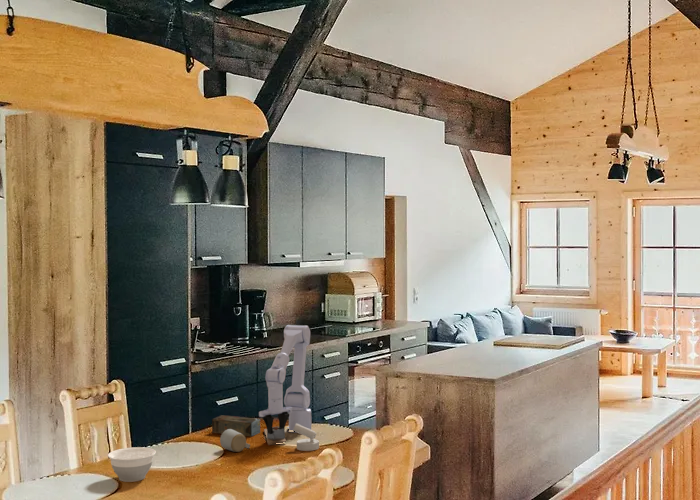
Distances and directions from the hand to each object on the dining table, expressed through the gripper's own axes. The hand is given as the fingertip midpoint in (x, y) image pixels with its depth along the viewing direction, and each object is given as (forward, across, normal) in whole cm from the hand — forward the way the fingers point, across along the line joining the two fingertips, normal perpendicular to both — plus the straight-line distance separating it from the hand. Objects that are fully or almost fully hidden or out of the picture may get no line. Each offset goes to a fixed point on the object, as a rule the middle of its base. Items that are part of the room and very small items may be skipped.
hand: (275, 432), depth 334 cm
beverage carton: (+4, +4, -23) cm, 24 cm away
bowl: (+4, +65, +9) cm, 65 cm away
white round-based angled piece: (+4, -4, +16) cm, 16 cm away
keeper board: (+4, -3, -5) cm, 7 cm away
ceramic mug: (+4, +18, 0) cm, 19 cm away
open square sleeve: (+2, 0, 0) cm, 2 cm away
